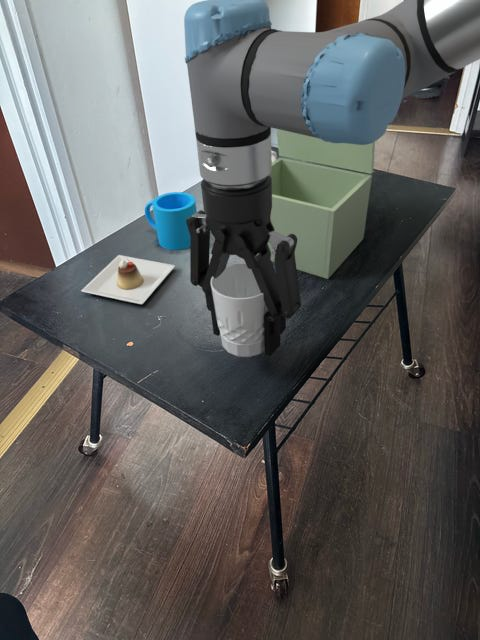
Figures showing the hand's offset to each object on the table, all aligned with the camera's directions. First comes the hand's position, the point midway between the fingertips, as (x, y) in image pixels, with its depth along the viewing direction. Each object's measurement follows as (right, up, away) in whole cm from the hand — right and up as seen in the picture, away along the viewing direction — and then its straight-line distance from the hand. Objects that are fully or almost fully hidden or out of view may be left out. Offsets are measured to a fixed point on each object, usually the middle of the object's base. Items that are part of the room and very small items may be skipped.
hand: (246, 339), depth 64 cm
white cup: (0, 0, 0) cm, 0 cm away
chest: (+11, +17, +27) cm, 33 cm away
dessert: (-20, +9, +20) cm, 29 cm away
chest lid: (+13, +36, +17) cm, 42 cm away
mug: (-15, +19, +31) cm, 40 cm away
